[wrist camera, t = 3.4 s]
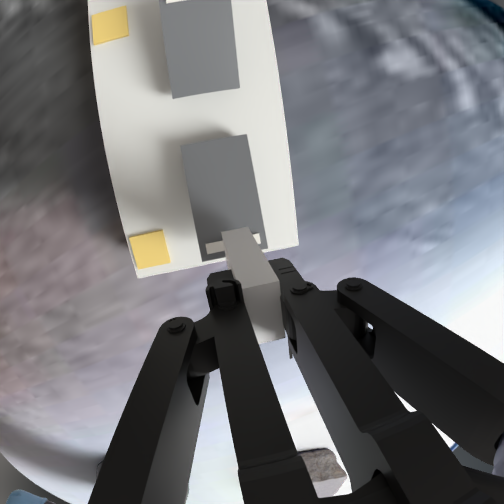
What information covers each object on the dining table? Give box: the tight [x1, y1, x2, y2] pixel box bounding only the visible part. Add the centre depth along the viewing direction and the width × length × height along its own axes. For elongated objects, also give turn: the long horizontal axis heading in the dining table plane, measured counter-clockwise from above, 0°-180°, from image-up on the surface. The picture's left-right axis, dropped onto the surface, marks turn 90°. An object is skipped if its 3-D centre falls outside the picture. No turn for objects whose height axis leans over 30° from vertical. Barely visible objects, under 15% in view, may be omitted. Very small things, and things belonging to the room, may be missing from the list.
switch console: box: [88, 0, 299, 278], centre depth 19 cm, size 12×30×6 cm, turn 8°
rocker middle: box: [159, 0, 240, 99], centre depth 15 cm, size 4×7×2 cm, turn 8°
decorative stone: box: [298, 449, 347, 498], centre depth 43 cm, size 15×7×10 cm
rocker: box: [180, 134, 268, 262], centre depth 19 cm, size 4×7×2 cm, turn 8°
